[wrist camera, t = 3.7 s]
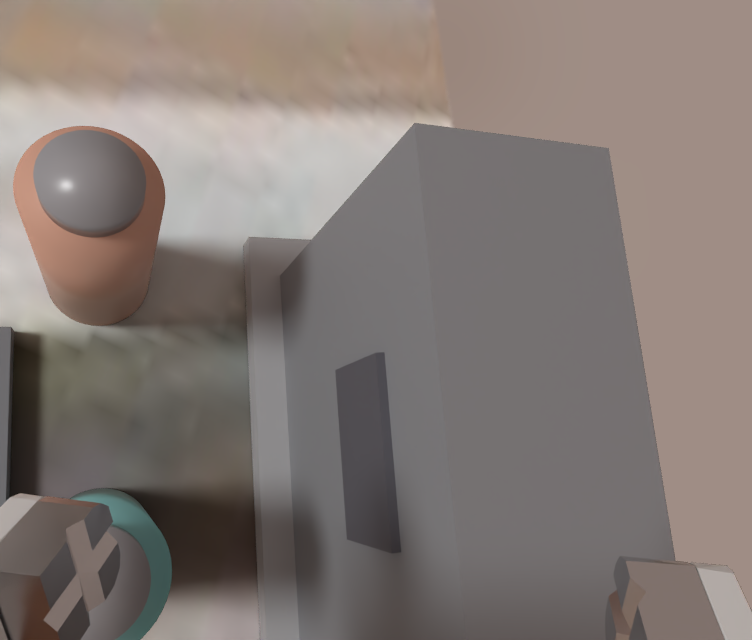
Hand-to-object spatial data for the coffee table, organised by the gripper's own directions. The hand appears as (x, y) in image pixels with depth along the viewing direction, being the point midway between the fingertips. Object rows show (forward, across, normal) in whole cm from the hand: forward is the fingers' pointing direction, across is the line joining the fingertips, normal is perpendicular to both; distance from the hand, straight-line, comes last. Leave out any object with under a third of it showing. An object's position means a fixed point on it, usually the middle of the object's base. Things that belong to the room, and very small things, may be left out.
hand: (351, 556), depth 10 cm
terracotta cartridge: (+19, +16, +4) cm, 25 cm away
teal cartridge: (+12, +14, +13) cm, 22 cm away
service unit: (+19, +4, +13) cm, 24 cm away
